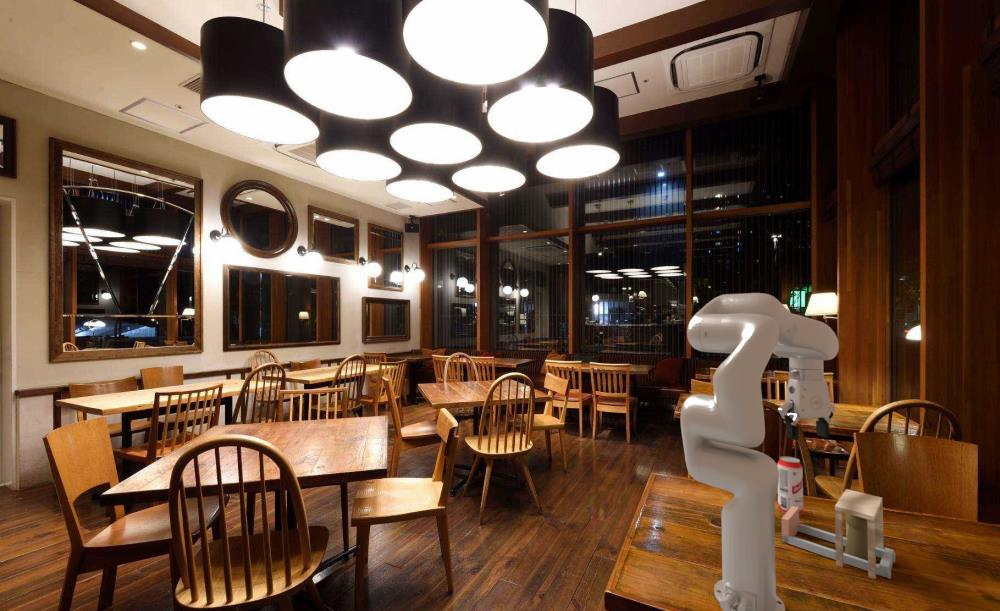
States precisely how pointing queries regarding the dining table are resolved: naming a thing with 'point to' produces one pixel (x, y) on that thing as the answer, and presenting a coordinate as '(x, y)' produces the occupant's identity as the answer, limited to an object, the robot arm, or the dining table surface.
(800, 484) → the beer can
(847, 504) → the stool
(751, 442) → the robot arm
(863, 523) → the cork
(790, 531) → the sled
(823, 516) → the dining table surface
